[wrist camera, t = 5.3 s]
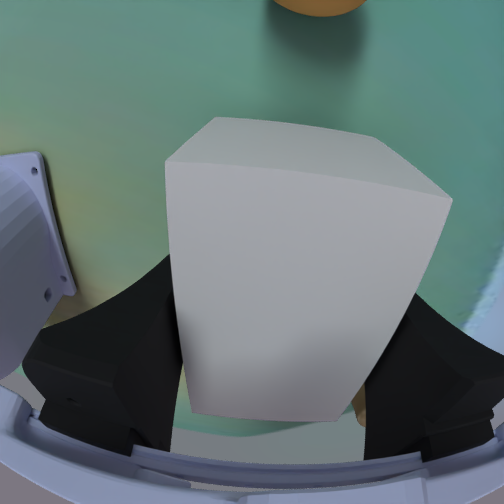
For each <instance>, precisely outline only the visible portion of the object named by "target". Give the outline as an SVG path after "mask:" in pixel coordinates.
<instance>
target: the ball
mask: <svg viewBox="0 0 504 504" xmlns="http://www.w3.org/2000/svg"><path fill="white" fill-rule="evenodd" d="M274 1H275V2H277V3H278V4H280V5H281V6H283V7H285V8H287V9H289V10H291V11H294V12H297V13H300V14H304V15H309V16H317V17H328V16H336V15H341V14H344V13H347V12H350V11H352V10H354V9H356V8H357V7H359V6H361V5H362V4H363V3H364V2H365V1H366V0H274Z"/></svg>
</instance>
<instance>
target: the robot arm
mask: <svg viewBox="0 0 504 504" xmlns="http://www.w3.org/2000/svg"><path fill="white" fill-rule="evenodd" d="M35 168H36V169H37V171H38V173H37V171H36V169H35ZM76 291H77V289H76V286H75V283H74V280H73V277H72V274H71V271H70V268H69V265H68V262H67V259H66V256H65V252H64V249H63V246H62V242H61V239H60V235H59V231H58V228H57V224H56V220H55V216H54V212H53V207H52V203H51V198H50V194H49V189H48V184H47V179H46V173H45V167H44V161H43V157H42V155H41V154H40V153H39V152H37V151H33V152H24V153H16V154H8V155H1V156H0V380H1V379H3V378H4V377H6V376H8V375H9V374H10V373H12V372H13V371H14V370H15V369H16V368H17V367H18V366H19V365H20V364H21V363H22V367H23V370H24V373H25V375H26V376H27V377H28V379H29V380H30V381H31V383H32V384H33V385H34V386H35V387H36V389H37V390H38V391H39V392H40V393H41V394H42V396H43V397H44V398H45V399H46V400H45V403H44V405H43V407H42V410H41V412H40V411H38V410H36V409H33V408H32V407H31V405H30V404H29V403H28V402H27V401H26V400H25V399H24V398H23V397H21V396H20V395H19V394H17V393H15V392H14V391H12V390H9V389H8V388H6V387H4V386H2V385H0V462H1V463H3V464H4V465H6V466H8V467H9V468H10V469H12V470H14V471H15V472H17V473H18V474H20V475H22V476H24V477H25V478H27V479H29V480H30V481H32V482H34V483H35V484H37V485H39V486H41V487H43V488H45V489H47V490H49V491H50V492H52V493H54V494H56V495H58V496H60V497H62V498H65V499H67V500H69V501H71V502H73V503H75V504H469V503H471V502H473V501H475V500H477V499H479V498H481V497H483V496H485V495H487V494H489V493H491V492H492V491H494V490H496V489H498V488H500V487H502V486H503V485H504V422H503V423H502V424H501V425H499V426H498V427H497V428H496V429H495V430H493V429H492V425H491V422H490V419H492V418H493V417H494V413H493V410H492V408H493V407H494V406H495V405H497V403H499V402H500V401H501V400H502V399H503V398H504V355H502V354H500V353H498V352H496V351H494V350H492V349H490V348H488V347H486V346H484V345H483V344H481V343H479V342H477V341H476V340H474V339H473V338H471V337H470V336H468V335H466V334H465V333H464V332H462V331H461V330H459V329H458V328H456V327H455V326H454V325H452V324H451V323H450V322H448V321H447V320H446V319H445V318H443V317H442V316H441V315H440V314H438V313H437V312H436V311H435V310H434V309H432V308H431V307H430V306H429V305H428V304H427V303H426V302H425V301H424V300H423V299H422V298H420V297H419V296H418V295H417V294H416V293H415V294H414V296H413V298H412V300H411V302H410V304H409V306H408V308H407V310H406V312H405V313H404V315H403V317H402V319H401V321H400V323H399V325H398V327H397V328H396V330H395V332H394V334H393V336H392V337H391V339H390V341H389V343H388V344H387V346H386V348H385V349H384V351H383V353H382V354H381V356H380V358H379V359H378V361H377V363H376V364H375V366H374V367H373V369H372V371H371V372H370V374H369V375H368V377H367V378H366V380H365V381H364V386H365V405H366V433H365V449H364V460H363V461H355V462H344V463H329V464H295V465H294V464H291V465H290V464H259V463H244V462H232V461H222V460H214V459H207V458H199V457H193V456H187V455H181V454H175V453H170V445H171V437H172V427H173V420H174V412H175V405H176V399H177V392H178V386H179V380H180V375H181V370H182V364H183V358H182V351H181V345H180V338H179V331H178V323H177V315H176V307H175V299H174V290H173V281H172V271H171V260H170V254H169V255H168V256H166V257H165V258H164V259H163V260H162V261H161V262H160V263H159V264H158V265H156V266H155V267H154V268H153V269H152V270H150V271H149V272H148V273H147V274H146V275H144V276H143V277H142V278H141V279H139V280H138V281H137V282H135V283H134V284H133V285H131V286H130V287H128V288H127V289H125V290H124V291H122V292H121V293H119V294H117V295H116V296H114V297H112V298H111V299H109V300H107V301H105V302H103V303H102V304H100V305H98V306H96V307H94V308H92V309H90V310H88V311H86V312H84V313H82V314H80V315H78V316H75V317H73V318H71V319H68V320H66V321H63V322H60V323H57V324H55V325H52V326H49V327H46V328H43V326H44V324H45V323H46V321H47V319H48V318H49V316H50V315H51V313H52V311H53V310H54V308H55V307H56V305H57V304H58V302H59V301H60V299H61V297H62V296H63V295H68V296H74V295H75V293H76ZM42 328H43V329H42ZM181 479H182V480H181ZM185 480H188V481H194V482H201V483H208V484H216V485H224V486H235V487H248V488H269V489H272V488H273V489H294V490H269V491H258V492H234V491H217V490H204V489H194V488H191V484H190V483H189V482H188V481H185ZM377 481H381V482H377ZM371 482H375V483H371ZM364 483H368V484H364ZM356 484H361V485H356ZM347 485H353V486H347ZM337 486H344V487H337ZM325 487H333V488H325ZM304 488H319V489H304Z"/></svg>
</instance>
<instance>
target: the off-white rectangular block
mask: <svg viewBox="0 0 504 504" xmlns="http://www.w3.org/2000/svg"><path fill="white" fill-rule="evenodd" d="M165 182H166V204H167V221H168V235H169V248H170V260H171V271H172V281H173V290H174V299H175V307H176V315H177V323H178V331H179V338H180V345H181V351H182V358H183V364H184V370H185V376H186V382H187V388H188V393H189V399H190V404H191V409H192V413H198V414H205V415H213V416H221V417H230V418H241V419H253V420H268V421H293V422H330V421H337V420H338V419H339V417H340V416H341V415H342V413H343V412H344V410H345V409H346V408H347V406H348V405H349V404H350V402H351V401H352V399H353V398H354V396H355V395H356V393H357V392H358V390H359V389H360V388H361V386H362V385H363V383H364V381H365V380H366V378H367V377H368V375H369V374H370V372H371V371H372V369H373V367H374V366H375V364H376V363H377V361H378V359H379V358H380V356H381V354H382V353H383V351H384V349H385V348H386V346H387V344H388V343H389V341H390V339H391V337H392V336H393V334H394V332H395V330H396V328H397V327H398V325H399V323H400V321H401V319H402V317H403V315H404V313H405V312H406V310H407V308H408V306H409V304H410V302H411V300H412V298H413V296H414V294H415V292H416V290H417V288H418V285H419V283H420V281H421V279H422V277H423V275H424V272H425V270H426V268H427V266H428V263H429V261H430V259H431V257H432V254H433V252H434V249H435V247H436V244H437V242H438V240H439V237H440V234H441V232H442V229H443V227H444V224H445V221H446V219H447V216H448V213H449V210H450V207H451V204H452V201H453V199H452V198H451V197H450V196H449V195H448V194H446V193H445V192H444V191H443V190H442V189H441V188H440V187H438V186H437V185H436V184H435V183H434V182H432V181H431V180H430V179H429V178H428V177H426V176H425V175H424V174H423V173H422V172H420V171H419V170H418V169H417V168H415V167H414V166H413V165H412V164H410V163H409V162H408V161H406V160H405V159H404V158H402V157H401V156H400V155H399V154H397V153H396V152H394V151H393V150H392V149H390V148H389V147H388V146H386V145H385V144H383V143H382V142H381V141H379V140H378V139H376V138H375V137H370V136H366V135H361V134H356V133H350V132H345V131H339V130H334V129H328V128H321V127H315V126H308V125H301V124H293V123H285V122H276V121H266V120H255V119H242V118H227V117H215V118H214V119H212V120H211V121H210V122H209V123H208V124H206V125H205V126H204V127H203V128H202V129H200V130H199V131H198V132H197V133H196V134H195V135H193V136H192V137H191V138H190V139H189V140H188V141H187V142H186V143H184V144H183V145H182V146H181V147H180V148H179V149H178V150H177V151H176V152H174V153H173V154H172V155H171V156H170V157H169V158H168V159H167V160H166V161H165Z"/></svg>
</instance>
